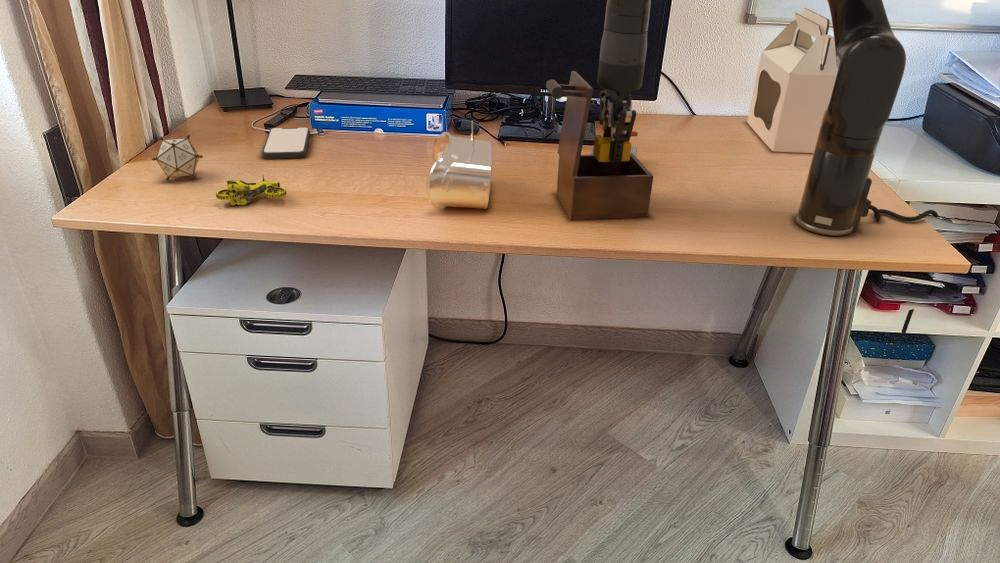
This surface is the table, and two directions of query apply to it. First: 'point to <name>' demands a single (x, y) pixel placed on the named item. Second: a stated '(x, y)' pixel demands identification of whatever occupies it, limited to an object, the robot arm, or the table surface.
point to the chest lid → (572, 118)
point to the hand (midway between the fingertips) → (611, 156)
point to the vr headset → (460, 172)
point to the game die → (177, 157)
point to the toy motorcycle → (250, 191)
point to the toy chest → (605, 189)
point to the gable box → (794, 85)
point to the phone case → (286, 143)
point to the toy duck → (603, 148)
